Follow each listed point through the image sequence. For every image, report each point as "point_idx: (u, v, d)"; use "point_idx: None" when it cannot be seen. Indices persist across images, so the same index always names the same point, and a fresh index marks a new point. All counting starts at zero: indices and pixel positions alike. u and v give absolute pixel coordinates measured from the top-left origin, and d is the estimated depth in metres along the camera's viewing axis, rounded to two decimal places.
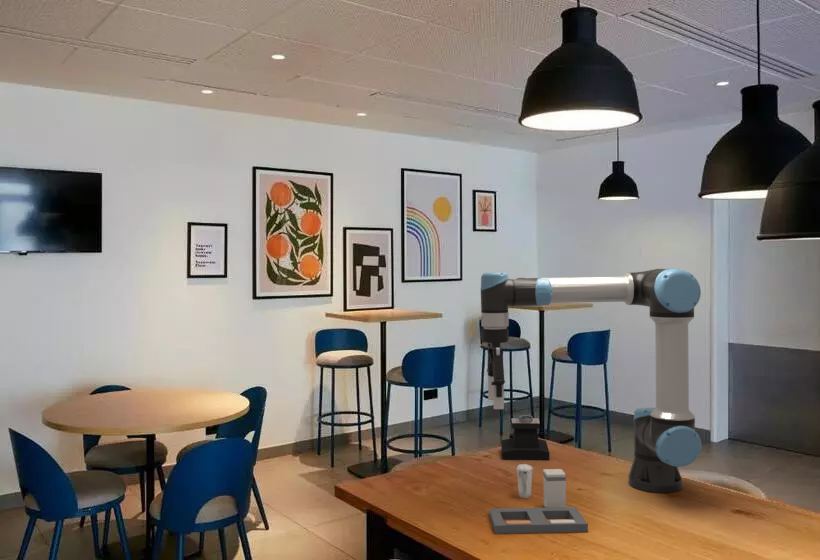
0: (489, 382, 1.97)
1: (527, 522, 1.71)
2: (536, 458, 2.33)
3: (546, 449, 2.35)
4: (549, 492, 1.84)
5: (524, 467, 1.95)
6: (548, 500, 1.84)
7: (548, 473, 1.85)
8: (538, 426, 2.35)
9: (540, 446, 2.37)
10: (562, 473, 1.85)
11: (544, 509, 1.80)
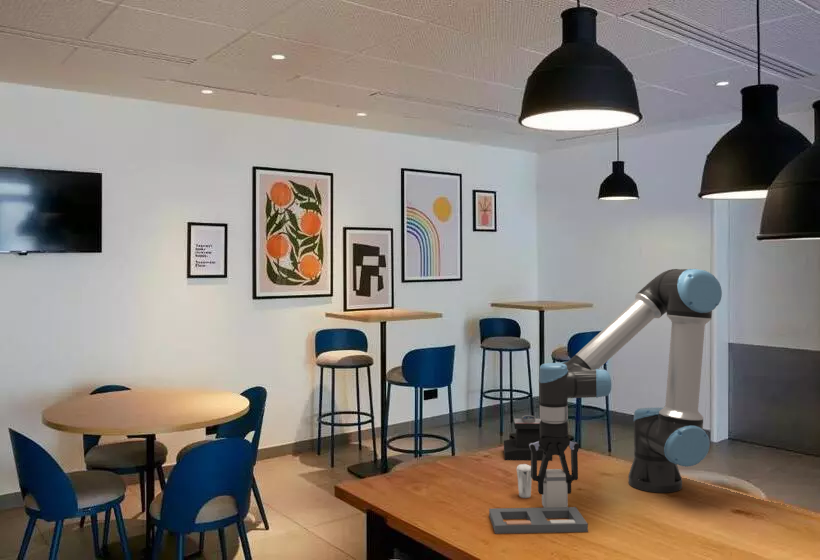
0: None
1: (527, 522, 1.71)
2: (539, 458, 2.33)
3: None
4: (549, 492, 1.84)
5: (524, 467, 1.95)
6: (548, 500, 1.84)
7: (548, 473, 1.85)
8: None
9: None
10: (562, 473, 1.85)
11: (544, 509, 1.80)
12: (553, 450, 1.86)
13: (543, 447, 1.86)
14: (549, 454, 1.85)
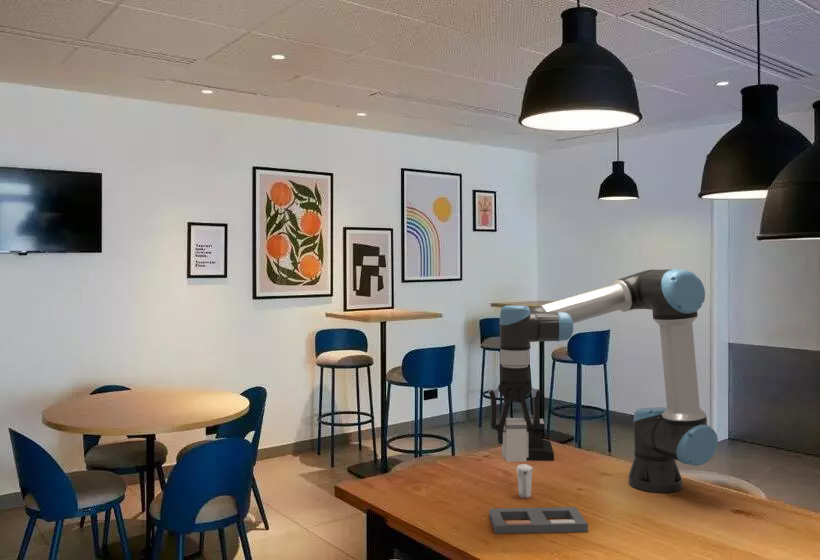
0: None
1: (527, 522, 1.71)
2: (540, 458, 2.33)
3: (550, 449, 2.35)
4: (509, 441, 1.74)
5: (524, 467, 1.95)
6: (507, 449, 1.74)
7: (508, 421, 1.75)
8: (542, 427, 2.34)
9: (544, 446, 2.36)
10: (523, 421, 1.74)
11: (544, 509, 1.80)
12: (514, 397, 1.75)
13: (503, 393, 1.75)
14: (509, 401, 1.74)
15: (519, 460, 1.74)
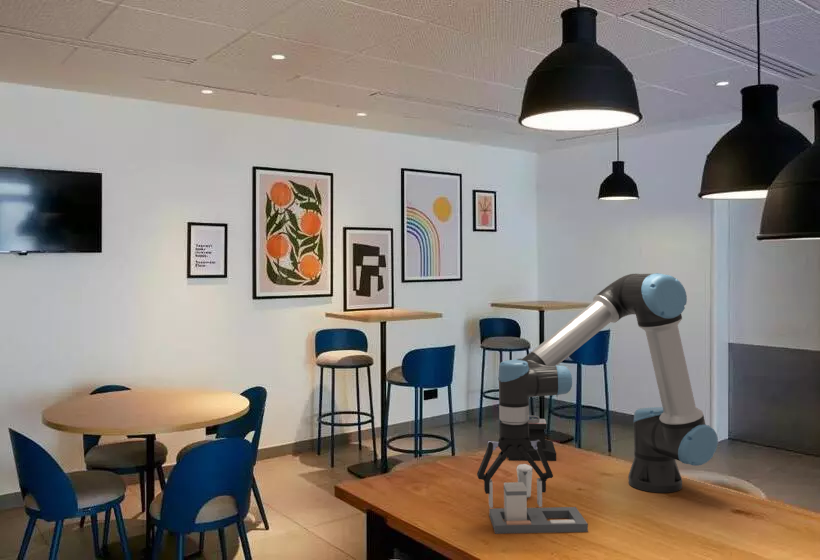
0: (537, 484, 1.77)
1: (527, 522, 1.71)
2: None
3: (553, 450, 2.34)
4: (509, 508, 1.73)
5: (524, 467, 1.95)
6: (508, 516, 1.73)
7: (508, 487, 1.74)
8: (544, 427, 2.34)
9: (547, 447, 2.36)
10: (523, 487, 1.74)
11: (544, 509, 1.80)
12: (513, 453, 1.74)
13: (503, 450, 1.74)
14: (505, 456, 1.74)
15: None
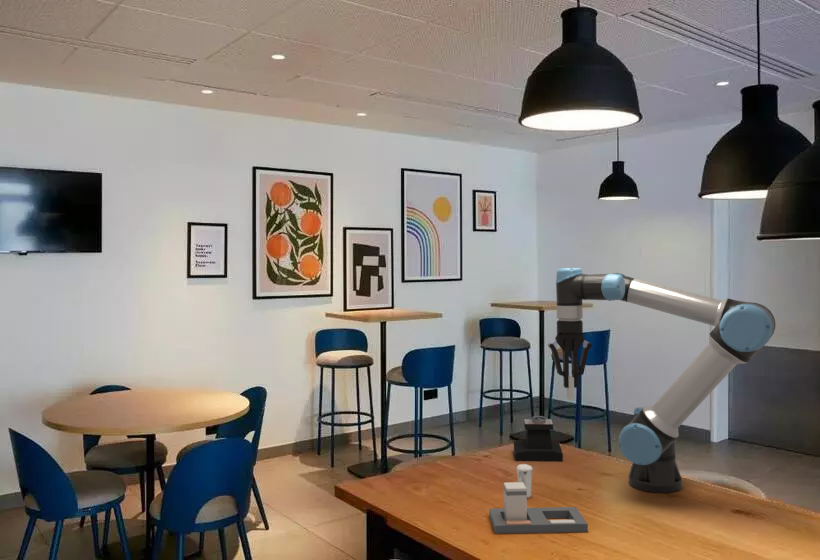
0: None
1: (527, 522, 1.71)
2: (549, 459, 2.32)
3: (559, 450, 2.33)
4: (509, 508, 1.73)
5: (524, 467, 1.95)
6: (508, 516, 1.73)
7: (508, 487, 1.74)
8: (551, 427, 2.33)
9: (553, 447, 2.35)
10: (523, 487, 1.74)
11: (544, 509, 1.80)
12: (569, 346, 2.03)
13: (560, 343, 2.03)
14: (567, 349, 2.03)
15: None
